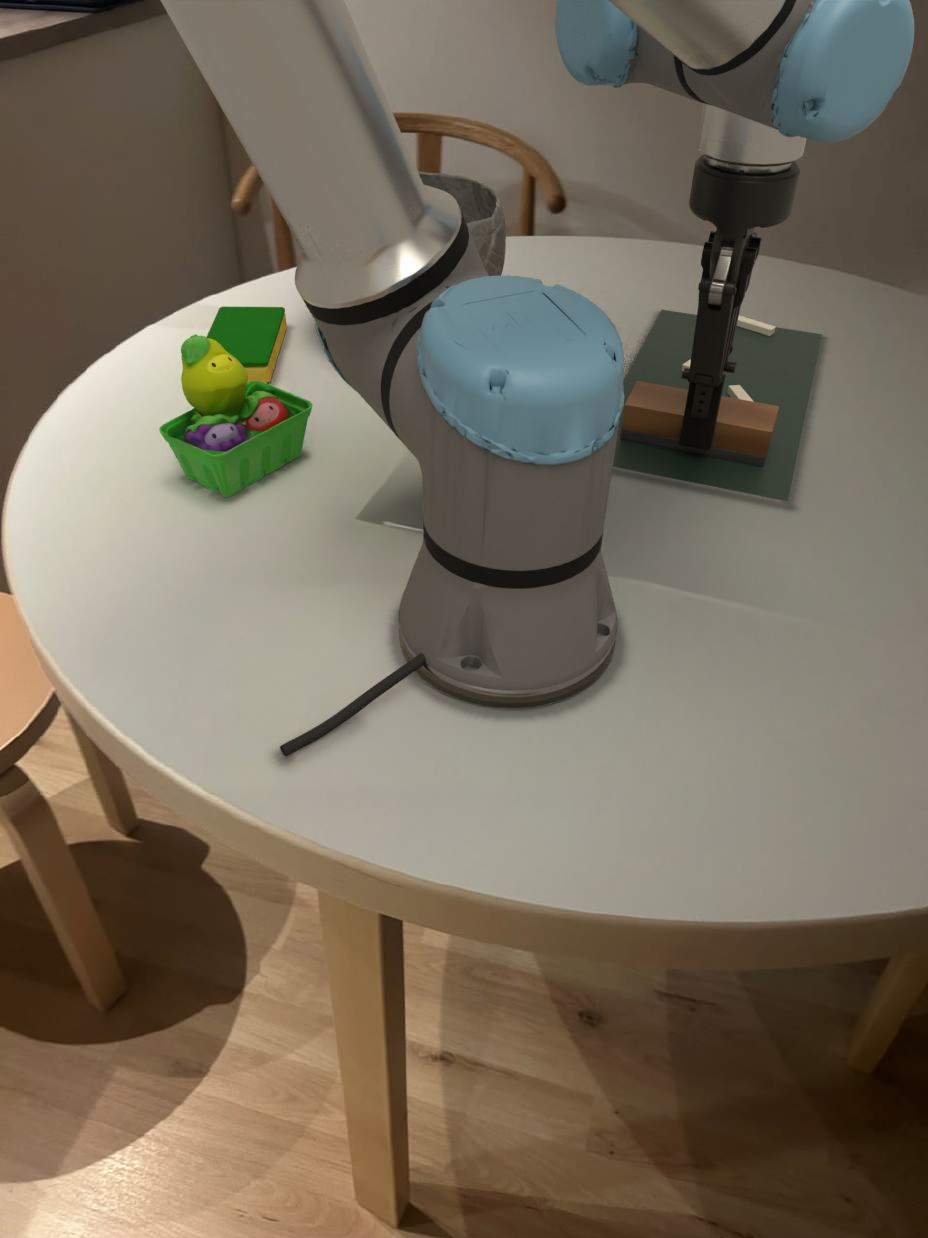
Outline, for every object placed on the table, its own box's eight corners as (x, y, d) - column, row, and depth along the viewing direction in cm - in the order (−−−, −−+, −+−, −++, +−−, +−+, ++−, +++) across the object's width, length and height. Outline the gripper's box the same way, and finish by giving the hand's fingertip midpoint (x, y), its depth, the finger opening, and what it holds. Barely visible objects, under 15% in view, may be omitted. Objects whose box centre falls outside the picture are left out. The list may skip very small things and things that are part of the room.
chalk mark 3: (774, 333, 106) (776, 326, 106) (769, 336, 106) (771, 329, 105) (734, 320, 109) (735, 313, 108) (729, 323, 108) (730, 316, 108)
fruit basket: (226, 511, 79) (203, 385, 72) (156, 475, 83) (128, 352, 76) (322, 455, 86) (310, 335, 79) (253, 424, 90) (236, 308, 83)
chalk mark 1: (758, 416, 92) (759, 408, 91) (746, 416, 92) (747, 409, 91) (738, 391, 95) (739, 384, 95) (726, 392, 95) (728, 385, 95)
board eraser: (763, 466, 85) (772, 431, 82) (619, 438, 88) (624, 404, 86) (770, 440, 88) (779, 405, 86) (632, 414, 92) (637, 380, 89)
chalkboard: (786, 506, 81) (787, 501, 81) (580, 464, 85) (580, 459, 85) (820, 338, 107) (822, 333, 106) (660, 313, 111) (661, 309, 111)
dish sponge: (198, 383, 96) (194, 361, 95) (223, 326, 107) (220, 305, 105) (269, 384, 96) (267, 361, 95) (287, 326, 107) (285, 305, 105)
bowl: (307, 376, 98) (292, 225, 88) (323, 297, 113) (311, 161, 104) (507, 375, 99) (514, 225, 89) (496, 297, 114) (501, 162, 104)
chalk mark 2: (691, 374, 98) (692, 367, 98) (681, 371, 99) (682, 363, 98) (715, 358, 101) (716, 351, 101) (705, 355, 102) (706, 348, 101)
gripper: (791, 189, 64) (726, 489, 79) (810, 141, 73) (749, 417, 88) (679, 177, 66) (637, 471, 81) (712, 131, 75) (668, 403, 90)
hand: (695, 443), depth 85 cm, fingers closed
